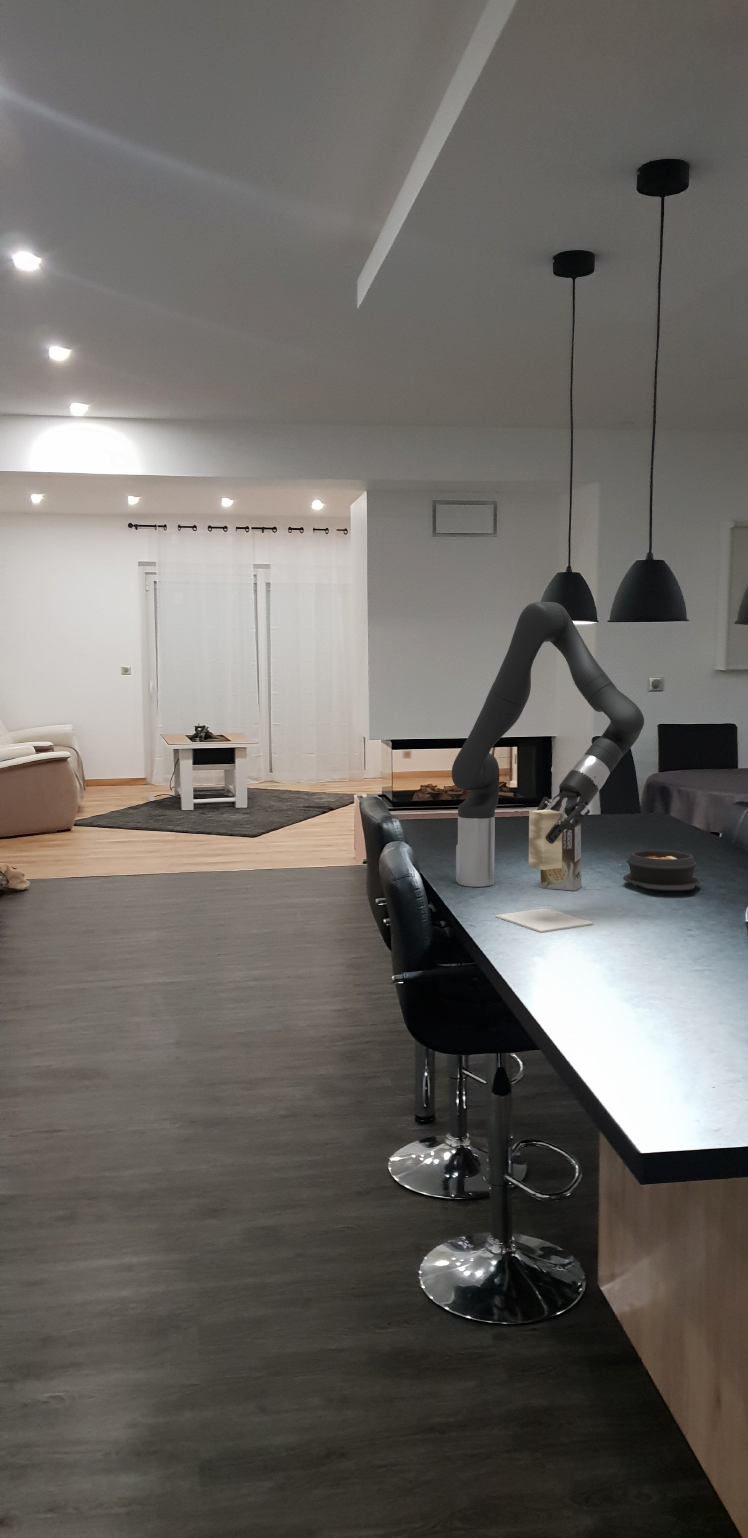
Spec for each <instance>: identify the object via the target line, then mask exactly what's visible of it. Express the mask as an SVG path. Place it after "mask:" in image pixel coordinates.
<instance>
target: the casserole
mask: <svg viewBox="0 0 748 1538" xmlns="http://www.w3.org/2000/svg"><path fill="white" fill-rule="evenodd" d="M626 863H627V864H628V866H629V873H628V874H626V875H624V876H623V878H622V879H623V880H624V881H625V882H626V883H629V884H632V885H635V886H636V887H637V888H640V889H644V890H648V891H653V892H685V891H692V890H693V889H695V887H696V886H697V885H699V884H701V882H700V879H698V878H697V877H694V876H693V875H694V871H695V868H696V867H697V866H698V863H697V862H696V861H695V859H694V856H693V854H691V853H687V852H685V851H679V850H672V849H641V850H640V849H639V850H636V851H631V853H630V856H629V858H628V859H627V860H626Z"/></svg>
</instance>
